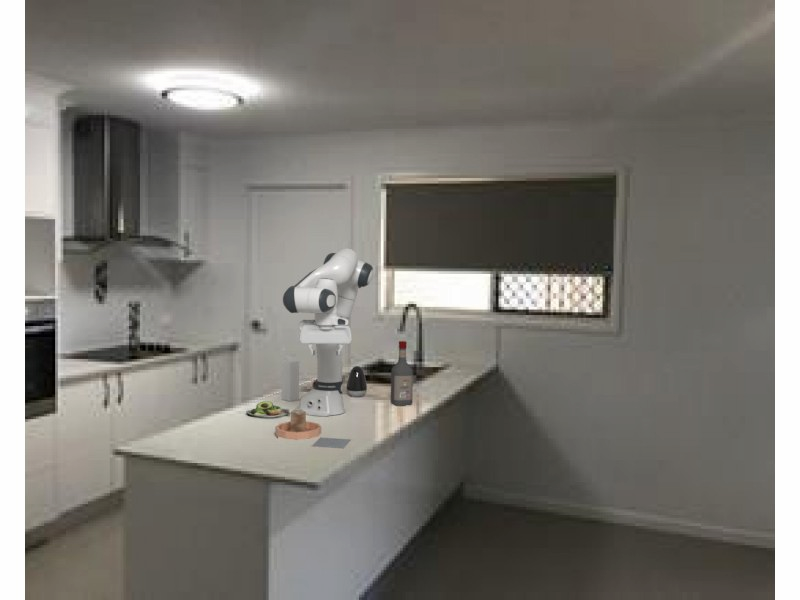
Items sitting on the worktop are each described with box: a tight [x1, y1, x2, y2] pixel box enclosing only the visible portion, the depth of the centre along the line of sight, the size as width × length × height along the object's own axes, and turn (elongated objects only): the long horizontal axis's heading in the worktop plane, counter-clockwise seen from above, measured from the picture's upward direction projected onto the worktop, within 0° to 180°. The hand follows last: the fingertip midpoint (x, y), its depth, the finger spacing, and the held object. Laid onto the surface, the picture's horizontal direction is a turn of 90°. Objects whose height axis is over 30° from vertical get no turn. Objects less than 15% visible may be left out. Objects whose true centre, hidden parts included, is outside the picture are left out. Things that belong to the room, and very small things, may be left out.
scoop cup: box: [290, 409, 307, 432], centre depth 255 cm, size 6×6×9 cm
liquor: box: [390, 340, 414, 407], centre depth 314 cm, size 9×9×30 cm
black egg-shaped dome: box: [346, 365, 368, 398], centre depth 330 cm, size 10×10×15 cm
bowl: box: [274, 421, 322, 440], centre depth 255 cm, size 17×17×4 cm
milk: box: [281, 353, 300, 402], centre depth 319 cm, size 6×6×22 cm
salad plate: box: [246, 400, 291, 420], centre depth 289 cm, size 19×18×5 cm
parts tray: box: [311, 437, 352, 449], centre depth 243 cm, size 12×12×1 cm
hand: (325, 355), depth 257 cm, fingers open, 8 cm apart
